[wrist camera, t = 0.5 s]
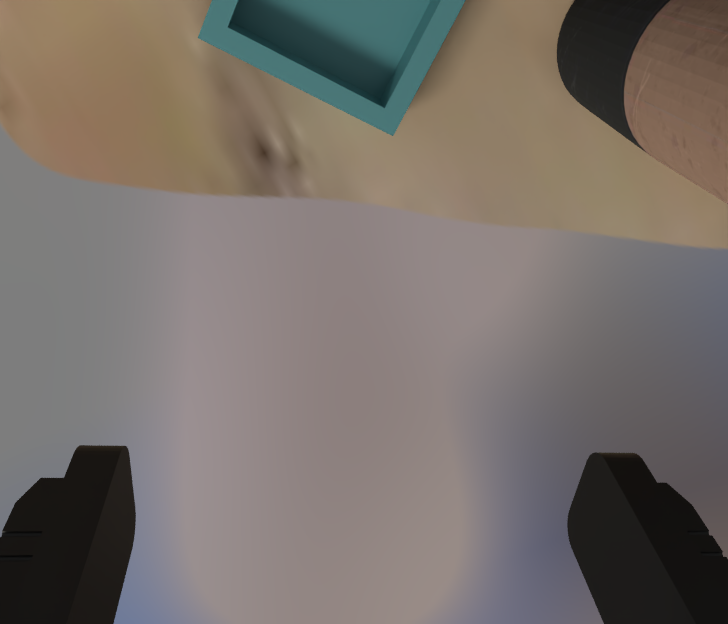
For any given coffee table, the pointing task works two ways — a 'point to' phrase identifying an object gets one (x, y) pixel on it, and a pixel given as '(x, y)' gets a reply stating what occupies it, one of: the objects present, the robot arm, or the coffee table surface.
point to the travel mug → (655, 78)
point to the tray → (338, 47)
